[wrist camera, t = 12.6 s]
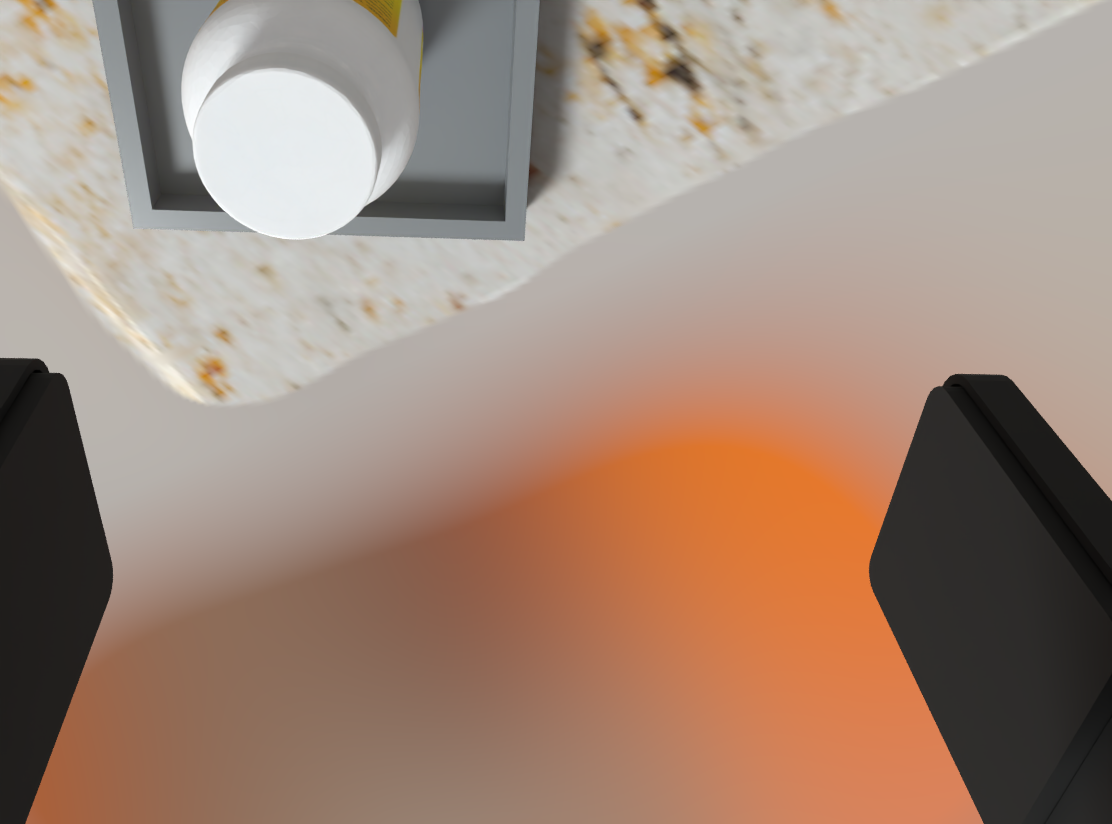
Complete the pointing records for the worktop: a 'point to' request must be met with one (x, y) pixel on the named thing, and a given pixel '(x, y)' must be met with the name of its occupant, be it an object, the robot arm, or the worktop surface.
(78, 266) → the worktop surface
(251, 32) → the supplement bottle
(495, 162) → the charcoal tray
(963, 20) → the worktop surface
